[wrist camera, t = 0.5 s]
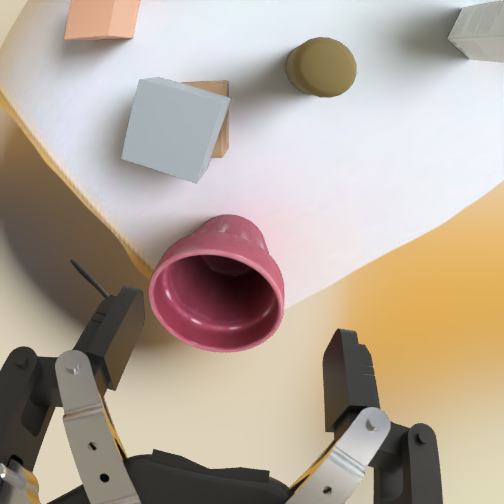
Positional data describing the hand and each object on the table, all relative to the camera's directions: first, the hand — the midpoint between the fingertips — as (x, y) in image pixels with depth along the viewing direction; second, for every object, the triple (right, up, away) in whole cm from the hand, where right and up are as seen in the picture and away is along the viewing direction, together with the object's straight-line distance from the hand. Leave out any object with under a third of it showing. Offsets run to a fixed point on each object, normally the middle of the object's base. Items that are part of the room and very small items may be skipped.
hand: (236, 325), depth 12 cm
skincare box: (+26, +29, +11) cm, 40 cm away
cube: (-15, +31, +14) cm, 37 cm away
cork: (+7, +23, +17) cm, 29 cm away
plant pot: (-2, +4, +30) cm, 30 cm away
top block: (-6, +16, +17) cm, 24 cm away
